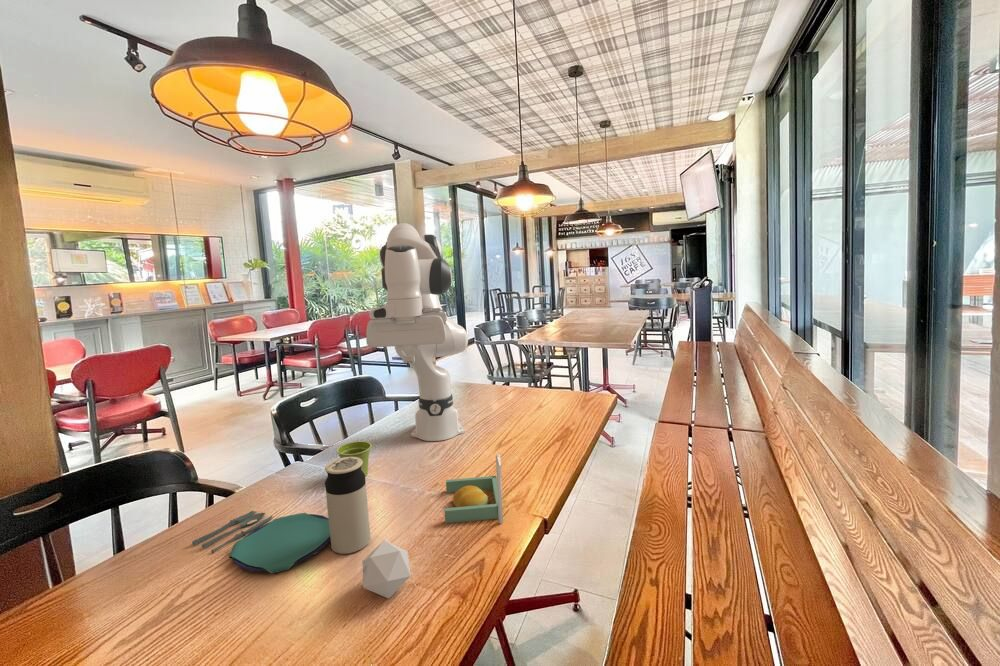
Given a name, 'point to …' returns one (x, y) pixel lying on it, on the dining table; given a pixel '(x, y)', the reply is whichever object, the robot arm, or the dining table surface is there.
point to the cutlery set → (274, 540)
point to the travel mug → (347, 505)
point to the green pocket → (480, 510)
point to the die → (386, 569)
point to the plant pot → (356, 452)
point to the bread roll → (470, 497)
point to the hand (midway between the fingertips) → (408, 362)
